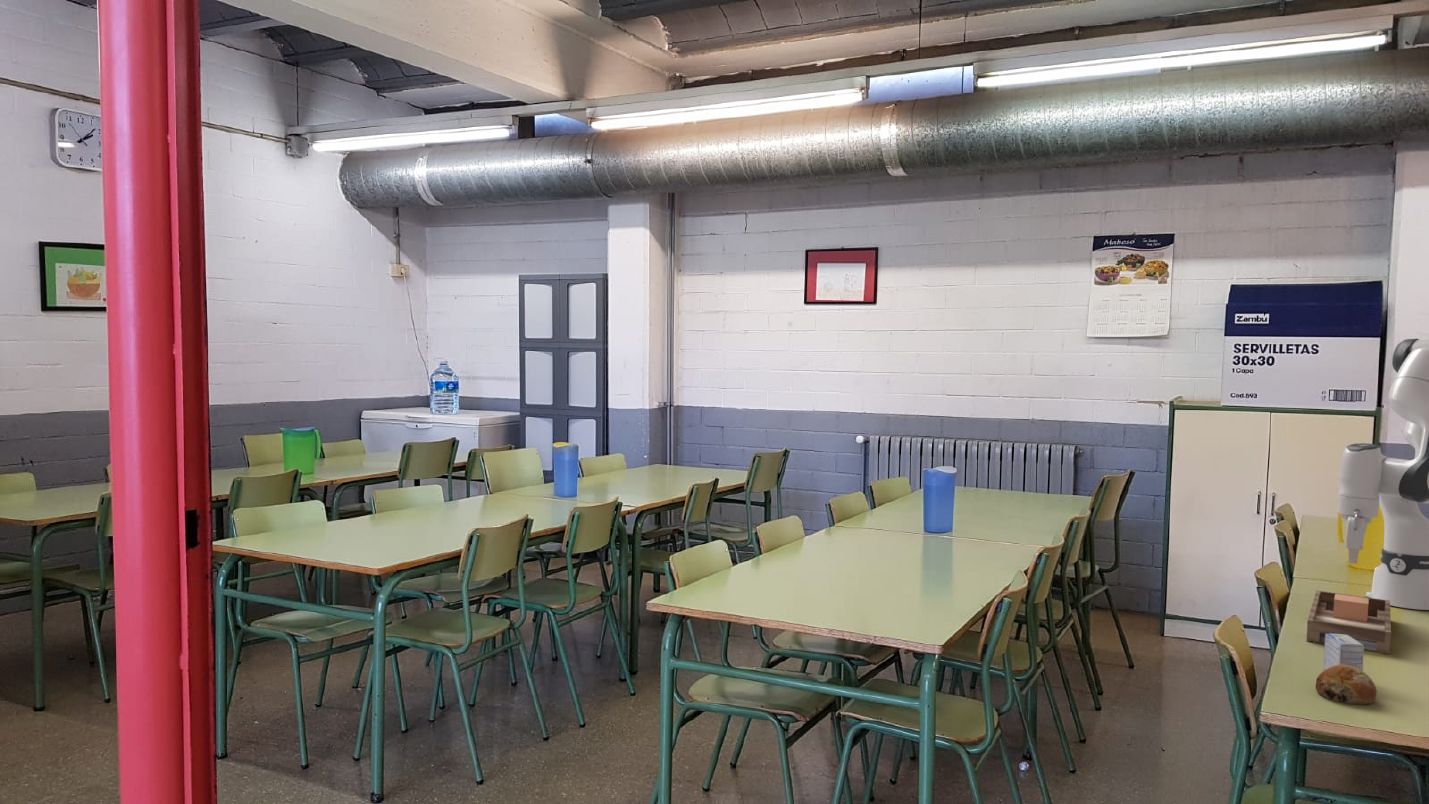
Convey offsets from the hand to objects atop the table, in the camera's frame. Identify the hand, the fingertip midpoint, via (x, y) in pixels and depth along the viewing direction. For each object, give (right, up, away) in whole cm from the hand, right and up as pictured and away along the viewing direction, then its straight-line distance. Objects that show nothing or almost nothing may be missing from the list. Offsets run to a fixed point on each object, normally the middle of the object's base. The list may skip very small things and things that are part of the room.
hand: (1353, 562), depth 250 cm
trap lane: (-7, -15, -9) cm, 19 cm away
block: (-5, -12, -6) cm, 15 cm away
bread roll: (-38, -17, -57) cm, 71 cm away
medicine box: (-33, -17, -47) cm, 60 cm away
